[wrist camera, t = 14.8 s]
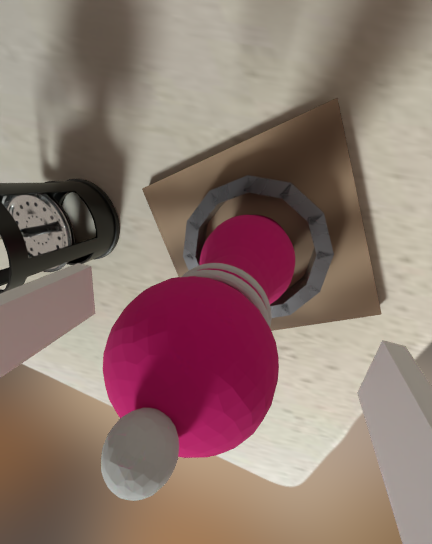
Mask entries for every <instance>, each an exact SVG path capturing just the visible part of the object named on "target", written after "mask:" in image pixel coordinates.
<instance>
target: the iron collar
mask: <svg viewBox="0 0 432 544" xmlns="http://www.w3.org/2000/svg"><path fill="white" fill-rule="evenodd" d="M246 193H255V194H260V195H265V196H271V197H276V198H281V199H283V200H284V201H285V202H287V203H288V204H289V205H290V206H291V207H292V208H293V209H294V210H295V211H296V212H297V213H299V214H300V215H301V216H302V217H303V218H304V219H305V220H306V221H307V222H308V225H309V229H310V233H311V237H312V241H313V244H314V249H313V252H312V255H311V258H310V261H309V264H308V267H307V270H306V273H305V275H304V276H302V277H301V278H300V279H299V280H298V281H297V282H295V283H294V284H293V285H292V286H291V287H289V288H288V289H287V290H286V291H285V292H284V293H283V294H282V295H281V296H280V297H279V298H278V299H277V300H276V301H274V302H273V303H272V304H270V307H271V315H272V318H276V317H282V316H288V315H291V314H292V313H294V312H295V311H296V310H297V309H299V308H300V307H301V306H303V305H304V304H305V303H306V302H308V301H309V300H310V299H312V298H313V297H314V296H315V295H317V294H318V293H319V292H320V291H321V288H322V285H323V282H324V280H325V277H326V274H327V272H328V269H329V266H330V264H331V261H332V258H333V255H334V253H333V249H332V245H331V241H330V237H329V232H328V228H327V224H326V220H325V216H324V212H323V211H322V210H321V209H319V208H318V207H317V206H316V205H315V204H314V203H313V202H312V201H311V200H310V199H309V198H307V197H306V196H305V195H304V194H303V193H302V192H301V191H300V190H299V189H298V188H297V187H296V186H294V185H293V184H292V183H291V182H285V181H279V180H274V179H268V178H262V177H256V176H251V175H247V176H245V177H242V178H240V179H237V180H235V181H232V182H230V183H227V184H225V185H223V186H220V187H218V188H215V189H213V190H210V191H209V192H208V193H207V195H206V196H205V197H204V199H203V200H202V201H201V203H200V204H199V205H198V207H197V208H196V210H195V211H194V212H193V214H192V215H191V216H190V218H189V219H188V220H187V224H186V233H185V242H184V251H183V258H184V260H185V263H186V265H187V268H188V270H191V269H192V268H194V267H197V266H199V265H200V264H199V262H200V255H201V252H202V248H203V246H204V243H205V240H206V233H207V226H208V223H209V221H210V220H211V219H212V217H213V216H214V215H215V214H216V212H217V211H218V210H219V209H220V207H221V206H222V205H223V204H224V202H225V201H228V200H230V199H233V198H236V197H238V196H241V195H244V194H246Z"/></svg>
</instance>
